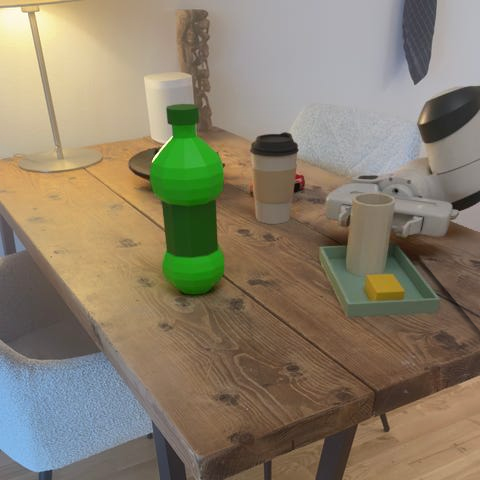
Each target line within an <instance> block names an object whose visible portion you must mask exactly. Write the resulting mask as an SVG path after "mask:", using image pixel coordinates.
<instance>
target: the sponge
mask: <svg viewBox="0 0 480 480" xmlns="http://www.w3.org/2000/svg"><path fill="white" fill-rule="evenodd" d="M364 291H365V292H366V294H367V296H368V298H369V299H370V301H389V300H403V299H404V294H405V291H404V289H403V288H402V286H401V285H400V284H399V282H398V281H397V279H396V278H395V276H394V275H393V274H378V275H366V282H365V290H364Z"/></svg>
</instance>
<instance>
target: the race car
mask: <svg viewBox="0 0 480 480" xmlns="http://www.w3.org/2000/svg"><path fill="white" fill-rule="evenodd" d="M305 186H306V180H305V176H304V174H302V173H300V172H296V176H295V184H294V193H297V192H299V191H300V190H302V189H304V188H305ZM249 193H250V194H252V195H254V193H253V182H252V183H251V184H250V187H249Z"/></svg>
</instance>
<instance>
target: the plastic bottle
mask: <svg viewBox="0 0 480 480" xmlns="http://www.w3.org/2000/svg"><path fill="white" fill-rule="evenodd" d="M165 110H166V120H167V125H171V130H172V131H171V132H172V136H171V137H170V138H169V139H168V140H167V141H166V142H165V143H164V144H163V145H162V146H163V147H162V146H161V147H162V148H161V149H160V150H159V152H158V153H157V154H156V155H155V157H154V158H153V161H152V165H151V169H150V181H149V182H150V186H151V189H152V192H153V195H154V196H155V197H157V198H158V199H159V200H160V201H161V208H162V216H163V217H162V218H163V226H164V237H165V246H166V248H165V250H164V254H163V258H162V263H161V269H162V274H163V276H164V278H165V280H166V281H167V282H169V284H171V285H172V286H174V287H175V288H176V289H178V290H179V291H180V292H182V293H183V294H188V295H200V294H201V295H202V294H206V293H208V292H209V291H210V290H212V288H213V287H214V286H216V285H217V284H218V283H219V282H220V281H221V280H222V278H223V276H224V274H225V269H226V268H225V254H224V251H223V249H222V247H221V246H220V244H219V242H218V219H217V217H218V216H217V199H218V197H219V196H220V195H221V193H222V192H223V189H224V183H225V179H224V175H225V174H224V168H223V160H222V158H221V155H220V154H219V153H218V154H219V155H218V154H217V153H216V152H217V151H216V150H214V148H212V147H211V146H210V145H209V144H208V143H207V142H205V140H204V139H202V137H200V136H198V135H197V126H196V125H197V124H200V112H199V110H200V109H199V105H197V104H193V103H178V104H176V103H175V104H171V105H166V109H165ZM215 151H216V152H215Z"/></svg>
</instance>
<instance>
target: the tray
mask: <svg viewBox="0 0 480 480" xmlns="http://www.w3.org/2000/svg"><path fill="white" fill-rule="evenodd" d="M347 246H348V244H347V245H329V246H319V251H318V260H319V262H320V265H321V267H322V268H323V270H324V272H325V274H326V277H327V279H328V281H329V284H330V285H331V288H332V289H333V292H334V294H335V296H336V298H337V300H338V302H339V304H340V306H341V309H342V310H343V313H344V315H345V318H363V317H383V316H399V315H400V316H401V315H402V316H403V315H419V314H434V313H435V314H436V313H437V314H438V311H439V308H440V303H441V298H440V297H439V296H438V293H436V292H435V290H434V289H433V287H431V285H430V283H428V281H427V280H426V279H425V278H424V277H423V275H422V274H421V272H419V270H418V268H416V266H415V265H414V264H413V263H412V262H413V261H411V260H410V259H409V257H408V256H407V255H406V254H405V252H404V251H403V250H402V248H401V247H400V246H399V245H398V243H397V242H389V248H388V255H387V262H386V267H385V271H384V273H383V274H393V275H394V276H395V278H396V279H397V281H398V282H399V284H400V285H401V286H402V288H403V289H404V291H405V294H404V299H403V300H389V301H370V299H369V298H368V296H367V294H366V292H365V291H364V290H365V282H366V277H362V276H357V275H353V274H351V273H349V272H348V271H347V270H346V256H347Z"/></svg>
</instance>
